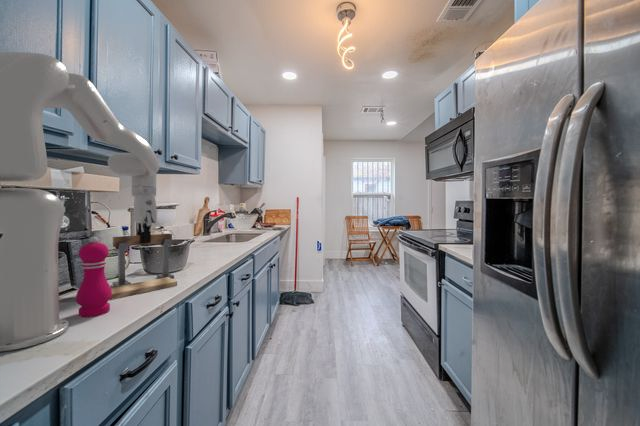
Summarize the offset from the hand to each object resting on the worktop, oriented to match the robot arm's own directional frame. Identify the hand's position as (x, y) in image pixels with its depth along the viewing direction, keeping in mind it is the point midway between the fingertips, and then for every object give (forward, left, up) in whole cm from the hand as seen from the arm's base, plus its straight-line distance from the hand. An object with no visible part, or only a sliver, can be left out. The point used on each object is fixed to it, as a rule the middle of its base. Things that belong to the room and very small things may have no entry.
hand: (144, 242), depth 98 cm
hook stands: (0, 0, -15) cm, 15 cm away
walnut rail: (0, 0, -1) cm, 1 cm away
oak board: (-5, -9, -15) cm, 18 cm away
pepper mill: (-18, -22, -15) cm, 32 cm away
